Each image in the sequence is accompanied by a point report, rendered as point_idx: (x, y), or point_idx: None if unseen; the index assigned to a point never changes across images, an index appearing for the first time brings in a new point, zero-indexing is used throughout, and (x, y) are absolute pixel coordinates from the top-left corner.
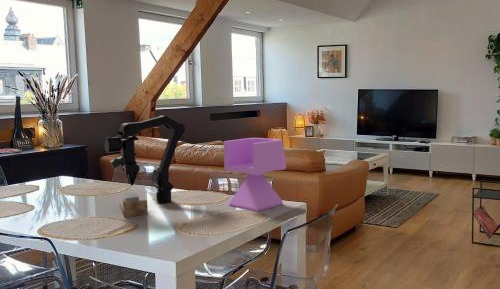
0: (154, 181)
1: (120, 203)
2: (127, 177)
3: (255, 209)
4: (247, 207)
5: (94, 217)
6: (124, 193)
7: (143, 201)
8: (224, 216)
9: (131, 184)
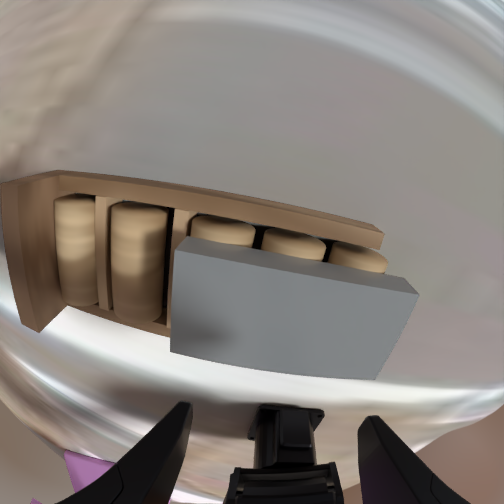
0: (282, 502)
1: (312, 217)
2: (395, 469)
3: (67, 453)
4: (80, 458)
5: (136, 14)
6: (404, 304)
7: (17, 305)
8: (32, 406)
9: (173, 412)
